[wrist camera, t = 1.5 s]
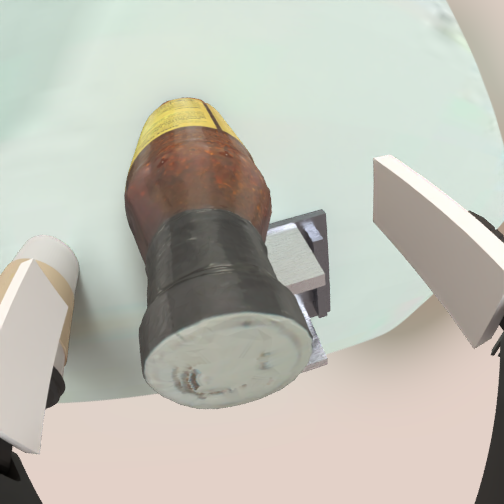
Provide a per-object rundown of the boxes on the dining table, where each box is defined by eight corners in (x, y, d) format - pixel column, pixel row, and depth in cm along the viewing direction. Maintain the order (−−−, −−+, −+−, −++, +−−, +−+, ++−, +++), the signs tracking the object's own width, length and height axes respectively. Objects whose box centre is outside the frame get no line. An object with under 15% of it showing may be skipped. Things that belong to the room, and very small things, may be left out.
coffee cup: (105, 258, 27) (78, 404, 15) (69, 310, 29) (45, 435, 18) (29, 207, 22) (-49, 338, 10) (2, 269, 24) (-49, 388, 13)
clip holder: (218, 339, 37) (228, 394, 30) (177, 251, 28) (179, 313, 22) (327, 306, 37) (353, 356, 31) (322, 209, 29) (360, 259, 22)
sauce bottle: (131, 154, 22) (56, 403, 6) (166, 81, 19) (87, 199, 4) (205, 184, 25) (260, 432, 9) (243, 117, 22) (399, 309, 6)
